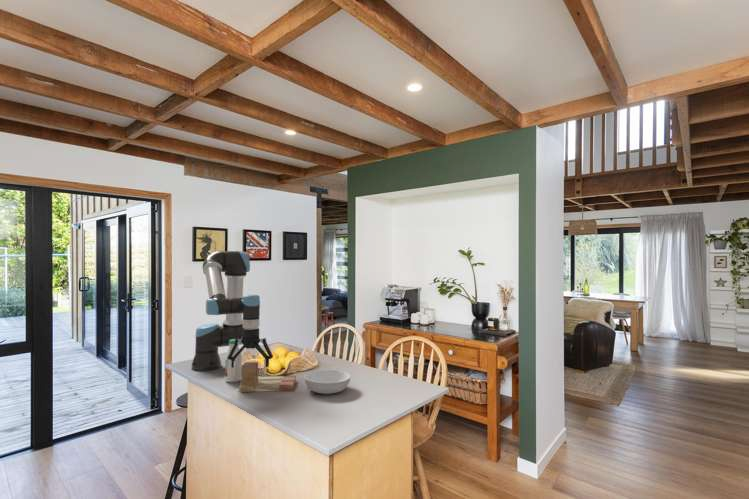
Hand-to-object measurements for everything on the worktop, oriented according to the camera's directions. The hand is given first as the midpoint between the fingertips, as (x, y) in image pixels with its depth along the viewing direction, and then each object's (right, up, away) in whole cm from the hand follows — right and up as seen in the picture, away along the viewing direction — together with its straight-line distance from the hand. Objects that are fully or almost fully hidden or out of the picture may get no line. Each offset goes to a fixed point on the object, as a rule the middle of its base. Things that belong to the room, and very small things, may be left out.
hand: (250, 374), depth 180 cm
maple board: (+8, -7, +4) cm, 11 cm away
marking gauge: (0, -6, -1) cm, 6 cm away
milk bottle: (-12, -7, +12) cm, 19 cm away
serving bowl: (+36, -7, -2) cm, 37 cm away
